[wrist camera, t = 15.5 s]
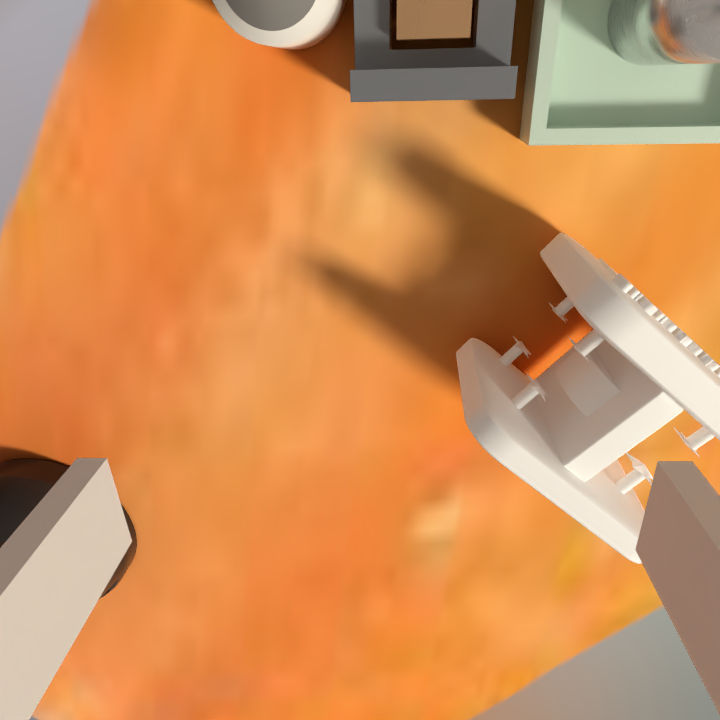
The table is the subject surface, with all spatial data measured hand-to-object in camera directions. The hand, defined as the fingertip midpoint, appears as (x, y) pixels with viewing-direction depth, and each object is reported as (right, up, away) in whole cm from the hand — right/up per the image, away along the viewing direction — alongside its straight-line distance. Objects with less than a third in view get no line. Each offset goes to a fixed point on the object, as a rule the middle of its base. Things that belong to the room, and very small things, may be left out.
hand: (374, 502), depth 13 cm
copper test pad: (+3, +21, +14) cm, 26 cm away
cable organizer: (+14, +5, +24) cm, 28 cm away
